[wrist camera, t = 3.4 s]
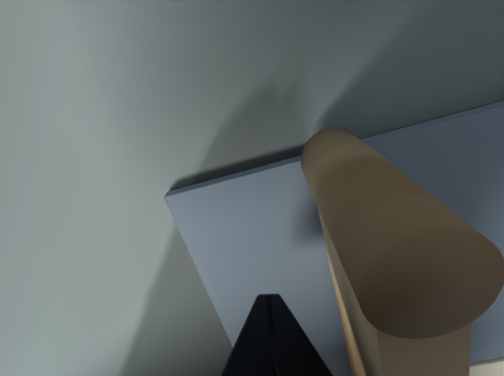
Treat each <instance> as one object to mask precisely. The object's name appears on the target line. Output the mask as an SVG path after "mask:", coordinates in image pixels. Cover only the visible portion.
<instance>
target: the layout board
mask: <svg viewBox="0 0 504 376" xmlns="http://www.w3.org/2000/svg"><path fill="white" fill-rule="evenodd" d="M361 140H362V141H363V142H365V143H366V144H367V145H369V146H370V147H371V148H372V149H374V150H375V151H376V152H377V153H379V154H380V155H381V156H383V157H384V158H385V159H386V160H388V161H389V162H390V163H392V164H393V165H394V166H395V167H397V168H398V169H399V170H401V171H402V172H403V173H404V174H406V175H407V176H408V177H409V178H411V179H412V180H413V181H415V182H416V183H417V184H418V185H420V186H421V187H422V188H424V189H425V190H426V191H427V192H429V193H430V194H431V195H432V196H434V197H435V198H436V199H438V200H439V201H440V202H441V203H443V204H444V205H445V206H447V207H448V208H449V209H450V210H452V211H453V212H454V213H455V214H457V215H458V216H459V217H461V218H462V219H463V220H464V221H466V222H467V223H468V224H470V225H471V226H472V227H473V228H475V229H476V230H477V231H478V232H480V233H481V234H482V235H484V236H485V237H486V238H487V239H489V240H490V241H491V242H493V243H494V245H495V246H496V247H497V248H498V249H499V250H500V252H501V254H502V256H503V258H504V100H503V101H500V102H496V103H492V104H489V105H485V106H481V107H478V108H474V109H470V110H466V111H463V112H459V113H455V114H452V115H448V116H444V117H441V118H437V119H433V120H430V121H426V122H422V123H419V124H415V125H411V126H407V127H404V128H400V129H396V130H393V131H389V132H385V133H382V134H378V135H374V136H371V137H367V138H363V139H361ZM164 199H165V201H166V203H167V205H168V208H169V210H170V212H171V214H172V216H173V218H174V221H175V223H176V225H177V227H178V229H179V232H180V234H181V236H182V238H183V240H184V242H185V245H186V247H187V249H188V251H189V253H190V255H191V258H192V260H193V262H194V264H195V266H196V269H197V271H198V273H199V275H200V277H201V279H202V282H203V284H204V286H205V288H206V290H207V292H208V295H209V297H210V299H211V301H212V303H213V306H214V308H215V310H216V312H217V314H218V316H219V319H220V321H221V323H222V325H223V327H224V329H225V332H226V334H227V336H228V338H229V340H230V343H231V345H232V347H234V344H235V342H236V340H237V338H238V336H239V334H240V331H241V329H242V327H243V325H244V323H245V320H246V318H247V316H248V314H249V312H250V310H251V307H252V305H253V303H254V301H255V299H256V297H257V295H259V294H274V293H278V294H280V295H281V297H282V298H283V300H284V301H285V303H286V304H287V306H288V307H289V309H290V310H291V312H292V313H293V315H294V316H295V318H296V319H297V321H298V322H299V324H300V326H301V327H302V329H303V330H304V332H305V333H306V335H307V336H308V338H309V339H310V341H311V342H312V344H313V345H314V347H315V348H316V350H317V351H318V353H319V354H320V356H321V358H322V359H323V361H324V362H325V364H326V365H327V367H328V368H329V370H330V371H331V373H332V374H333V376H352V373H351V368H350V363H349V358H348V353H347V348H346V343H345V339H344V334H343V329H342V324H341V319H340V314H339V309H338V304H337V300H336V295H335V290H334V285H333V280H332V275H331V270H330V266H329V261H328V256H327V251H326V246H325V241H324V236H323V231H322V227H321V222H320V217H319V212H318V207H317V204H316V202H315V199H314V197H313V195H312V192H311V190H310V187H309V185H308V183H307V180H306V178H305V176H304V173H303V171H302V168H301V155H300V156H297V157H293V158H289V159H286V160H282V161H278V162H275V163H271V164H267V165H264V166H260V167H256V168H252V169H249V170H245V171H241V172H238V173H234V174H230V175H227V176H223V177H219V178H216V179H212V180H208V181H204V182H201V183H197V184H193V185H190V186H186V187H182V188H179V189H175V190H171V191H168V192H167V193H166V195H165V196H164ZM469 376H504V284H503V287H502V290H501V292H500V293H499V295H498V297H497V298H496V300H495V301H494V303H493V304H492V305H491V306H490V307H489V308H488V309H487V310H486V311H485V312H484V313H483V314H482V315H481V316H479V317H478V318H477V319H475V320H474V321H472V326H471V348H470V371H469Z"/></svg>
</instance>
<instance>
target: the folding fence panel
mask: <svg viewBox="0 0 504 376" xmlns="http://www.w3.org/2000/svg"><path fill="white" fill-rule="evenodd" d="M301 168H302V171H303V173H304V176H305V178H306V180H307V183H308V185H309V187H310V190H311V192H312V195H313V197H314V199H315V202H316V204H317V207H318V212H319V217H320V222H321V227H322V231H323V236H324V241H325V246H326V251H327V256H328V261H329V266H330V270H331V275H332V280H333V285H334V290H335V295H336V300H337V304H338V309H339V314H340V319H341V324H342V329H343V334H344V339H345V343H346V348H347V353H348V358H349V363H350V368H351V373H352V376H469V371H470V348H471V326H472V321H474V320H475V319H477V318H478V317H479V316H481V315H482V314H483V313H484V312H485V311H486V310H487V309H488V308H489V307H490V306H491V305H492V304H493V303H494V301H495V300H496V298H497V297H498V295H499V293H500V292H501V290H502V287H503V284H504V258H503V256H502V254H501V252H500V250H499V249H498V248H497V247H496V246H495V245H494V243H493V242H491V241H490V240H489V239H487V238H486V237H485V236H484V235H482V234H481V233H480V232H478V231H477V230H476V229H475V228H473V227H472V226H471V225H470V224H468V223H467V222H466V221H464V220H463V219H462V218H461V217H459V216H458V215H457V214H455V213H454V212H453V211H452V210H450V209H449V208H448V207H447V206H445V205H444V204H443V203H441V202H440V201H439V200H438V199H436V198H435V197H434V196H432V195H431V194H430V193H429V192H427V191H426V190H425V189H424V188H422V187H421V186H420V185H418V184H417V183H416V182H415V181H413V180H412V179H411V178H409V177H408V176H407V175H406V174H404V173H403V172H402V171H401V170H399V169H398V168H397V167H395V166H394V165H393V164H392V163H390V162H389V161H388V160H386V159H385V158H384V157H383V156H381V155H380V154H379V153H377V152H376V151H375V150H374V149H372V148H371V147H370V146H369V145H367V144H366V143H365V142H363V141H362V140H361V139H360V138H358V137H357V136H356V135H354V134H353V133H352V132H350V131H348V130H345V129H342V128H329V129H325V130H322V131H320V132H318V133H317V134H315V135H314V136H313V137H311V138H310V139H309V140H308V142H307V143H306V145H305V146H304V148H303V151H302V154H301Z"/></svg>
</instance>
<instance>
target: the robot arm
mask: <svg viewBox="0 0 504 376" xmlns="http://www.w3.org/2000/svg"><path fill="white" fill-rule="evenodd" d="M220 376H333V374H332V373H331V371H330V370H329V368H328V367H327V365H326V364H325V362H324V361H323V359H322V358H321V356H320V354H319V353H318V351H317V350H316V348H315V347H314V345H313V344H312V342H311V341H310V339H309V338H308V336H307V335H306V333H305V332H304V330H303V329H302V327H301V326H300V324H299V322H298V321H297V319H296V318H295V316H294V315H293V313H292V312H291V310H290V309H289V307H288V306H287V304H286V303H285V301H284V300H283V298H282V297H281V295H280V294H278V293H274V294H259V295H257V297H256V299H255V301H254V303H253V305H252V307H251V310H250V312H249V314H248V316H247V318H246V320H245V323H244V325H243V327H242V329H241V331H240V334H239V336H238V338H237V340H236V342H235V344H234V347H233V349H232V351H231V353H230V355H229V357H228V360H227V362H226V364H225V366H224V368H223V371H222V373H221V375H220Z"/></svg>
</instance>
